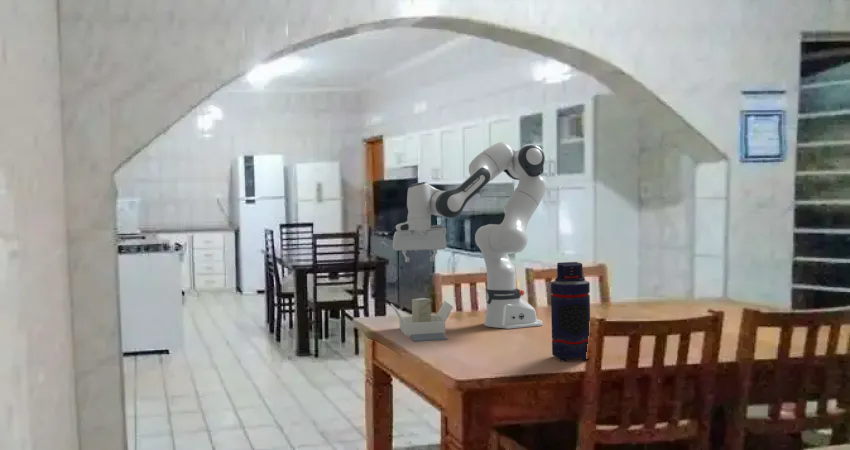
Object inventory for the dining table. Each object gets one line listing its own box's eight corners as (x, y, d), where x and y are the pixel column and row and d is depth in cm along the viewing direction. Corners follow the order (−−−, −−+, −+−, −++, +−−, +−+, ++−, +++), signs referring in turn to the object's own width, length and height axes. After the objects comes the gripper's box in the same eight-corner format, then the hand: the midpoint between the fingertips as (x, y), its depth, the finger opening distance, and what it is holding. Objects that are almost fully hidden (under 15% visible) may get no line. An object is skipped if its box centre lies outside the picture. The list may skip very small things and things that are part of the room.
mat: (442, 334, 296) (442, 332, 296) (447, 339, 286) (447, 338, 286) (410, 336, 294) (410, 334, 294) (414, 341, 284) (414, 340, 284)
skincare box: (419, 332, 301) (418, 300, 300) (411, 331, 304) (411, 299, 303) (432, 330, 305) (431, 298, 304) (424, 328, 308) (423, 297, 308)
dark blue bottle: (595, 361, 246) (593, 264, 244) (557, 363, 245) (555, 265, 243) (583, 351, 260) (581, 259, 258) (546, 353, 259) (545, 261, 257)
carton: (446, 325, 314) (445, 300, 313) (453, 332, 299) (453, 306, 298) (391, 328, 310) (390, 303, 310) (396, 335, 295) (395, 309, 295)
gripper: (445, 224, 307) (445, 260, 308) (391, 225, 304) (392, 261, 305) (447, 225, 301) (448, 261, 301) (393, 226, 298) (394, 263, 299)
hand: (419, 261), depth 303 cm, fingers open, 8 cm apart
